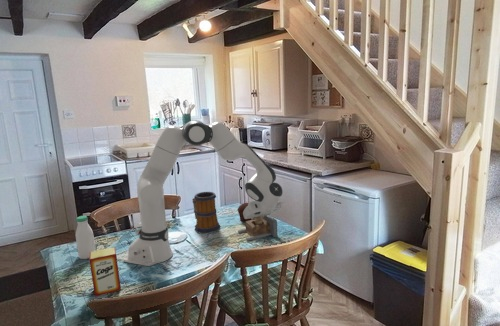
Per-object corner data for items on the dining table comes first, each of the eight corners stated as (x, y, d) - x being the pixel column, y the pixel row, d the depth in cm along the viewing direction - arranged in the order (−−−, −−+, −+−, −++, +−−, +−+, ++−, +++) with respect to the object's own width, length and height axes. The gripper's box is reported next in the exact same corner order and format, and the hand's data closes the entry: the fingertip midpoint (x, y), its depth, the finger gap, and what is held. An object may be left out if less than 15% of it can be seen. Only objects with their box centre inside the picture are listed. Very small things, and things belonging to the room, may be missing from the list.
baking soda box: (119, 281, 141) (115, 246, 138) (121, 289, 135) (115, 252, 132) (95, 287, 137) (89, 251, 134) (95, 296, 131) (89, 258, 128)
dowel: (254, 230, 181) (253, 212, 179) (255, 227, 185) (255, 210, 183) (262, 230, 180) (261, 213, 178) (263, 227, 184) (262, 210, 182)
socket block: (253, 238, 177) (252, 227, 175) (246, 231, 185) (245, 221, 183) (270, 234, 181) (269, 223, 179) (262, 228, 189) (262, 218, 187)
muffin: (249, 214, 210) (248, 199, 208) (261, 219, 202) (260, 203, 200) (233, 219, 203) (233, 204, 201) (245, 225, 195) (244, 208, 193)
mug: (185, 226, 196) (182, 193, 192) (205, 219, 206) (203, 187, 201) (204, 236, 182) (201, 200, 178) (225, 228, 192) (223, 194, 187)
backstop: (249, 243, 171) (248, 226, 169) (236, 230, 187) (235, 215, 185) (277, 236, 177) (277, 220, 175) (262, 225, 193) (261, 210, 192)
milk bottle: (99, 254, 167) (94, 215, 162) (85, 261, 160) (79, 221, 156) (89, 250, 170) (84, 213, 166) (75, 257, 164) (69, 218, 160)
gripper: (281, 196, 177) (273, 208, 187) (245, 202, 168) (239, 215, 179) (286, 206, 173) (277, 218, 184) (249, 214, 165) (242, 226, 176)
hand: (258, 217), depth 182 cm, fingers open, 5 cm apart
